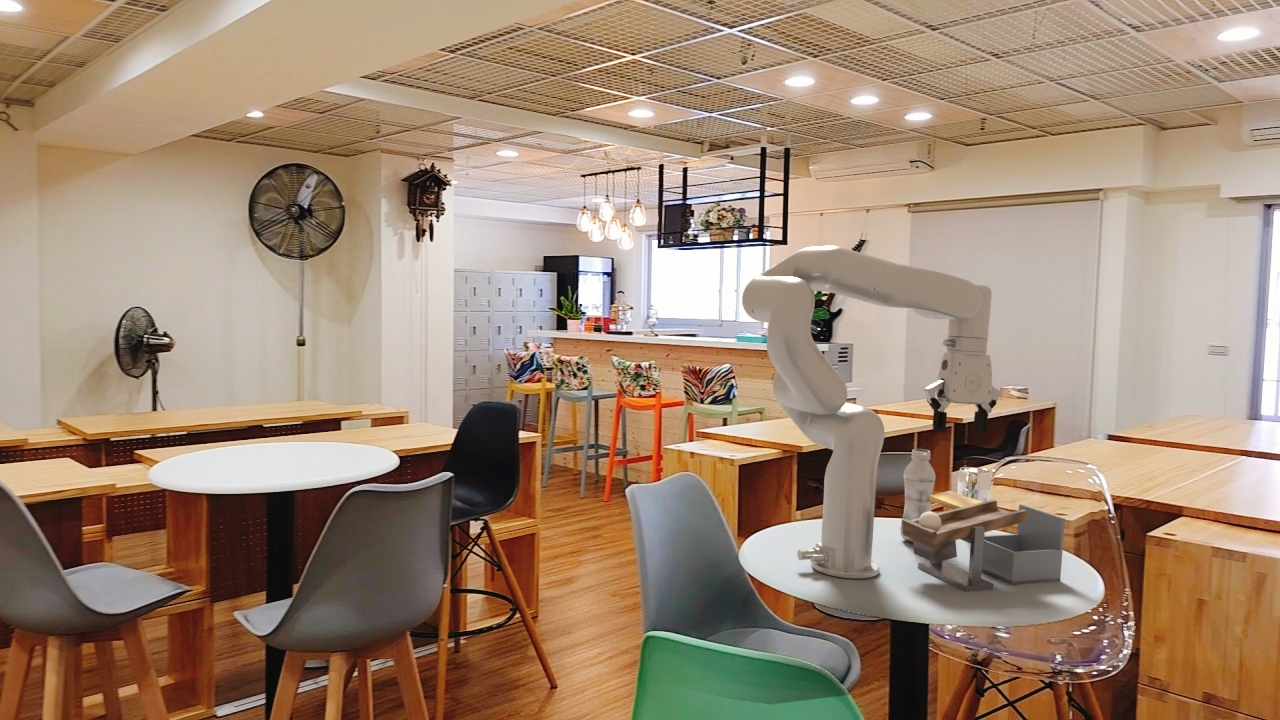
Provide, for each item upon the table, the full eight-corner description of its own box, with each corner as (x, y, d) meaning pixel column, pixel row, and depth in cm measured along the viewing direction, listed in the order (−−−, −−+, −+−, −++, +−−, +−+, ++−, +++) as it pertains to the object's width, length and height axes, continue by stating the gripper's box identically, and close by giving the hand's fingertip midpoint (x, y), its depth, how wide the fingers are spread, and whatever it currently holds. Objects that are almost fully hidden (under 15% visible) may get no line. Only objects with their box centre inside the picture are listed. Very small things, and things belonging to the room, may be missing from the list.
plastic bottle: (928, 548, 185) (934, 454, 183) (896, 542, 188) (901, 450, 186) (934, 541, 190) (940, 450, 189) (903, 536, 193) (908, 446, 192)
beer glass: (952, 536, 194) (956, 470, 193) (956, 530, 201) (961, 465, 200) (985, 542, 191) (990, 474, 190) (989, 535, 197) (993, 469, 196)
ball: (928, 538, 160) (926, 517, 159) (915, 532, 164) (913, 511, 163) (947, 533, 161) (945, 512, 160) (933, 527, 165) (931, 507, 164)
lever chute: (934, 567, 158) (931, 532, 157) (874, 538, 176) (871, 506, 175) (1028, 541, 164) (1026, 508, 163) (961, 516, 182) (959, 485, 181)
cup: (1011, 584, 162) (1016, 521, 161) (971, 566, 173) (975, 506, 172) (1060, 580, 166) (1064, 518, 165) (1017, 563, 176) (1021, 504, 175)
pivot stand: (965, 591, 157) (970, 530, 156) (917, 567, 170) (921, 511, 170) (993, 589, 159) (997, 528, 158) (943, 565, 172) (947, 509, 171)
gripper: (941, 345, 168) (934, 433, 169) (1015, 349, 174) (1008, 435, 175) (918, 343, 175) (911, 427, 177) (990, 347, 181) (983, 429, 182)
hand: (959, 431), depth 176 cm, fingers open, 9 cm apart
